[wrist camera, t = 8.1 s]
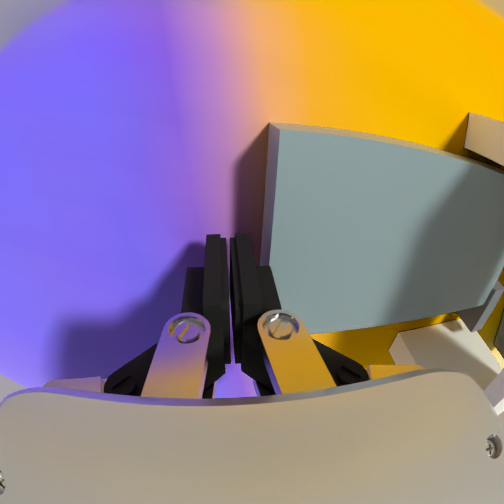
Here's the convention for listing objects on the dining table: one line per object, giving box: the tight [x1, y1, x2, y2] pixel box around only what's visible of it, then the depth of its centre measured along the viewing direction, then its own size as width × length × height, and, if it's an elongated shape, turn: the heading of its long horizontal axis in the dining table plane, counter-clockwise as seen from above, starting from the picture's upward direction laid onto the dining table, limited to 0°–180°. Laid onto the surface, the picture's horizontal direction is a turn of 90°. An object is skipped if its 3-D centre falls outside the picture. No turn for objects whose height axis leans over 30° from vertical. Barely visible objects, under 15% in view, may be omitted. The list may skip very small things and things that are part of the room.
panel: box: [260, 123, 504, 334], centre depth 12 cm, size 9×16×2 cm, turn 87°
